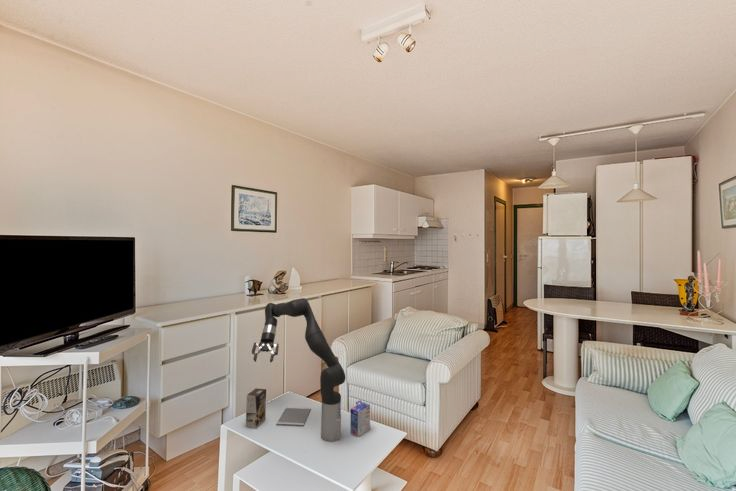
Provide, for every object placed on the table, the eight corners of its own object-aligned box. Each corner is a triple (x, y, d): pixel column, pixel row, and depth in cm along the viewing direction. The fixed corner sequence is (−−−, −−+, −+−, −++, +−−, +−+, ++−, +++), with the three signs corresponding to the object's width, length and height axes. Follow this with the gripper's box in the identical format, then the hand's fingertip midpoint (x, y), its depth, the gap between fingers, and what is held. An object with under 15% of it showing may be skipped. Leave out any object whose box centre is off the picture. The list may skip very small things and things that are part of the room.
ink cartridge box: (362, 425, 173) (362, 397, 173) (370, 429, 170) (371, 400, 170) (349, 433, 165) (350, 403, 166) (357, 437, 162) (358, 407, 162)
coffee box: (256, 428, 167) (257, 396, 168) (245, 427, 169) (246, 394, 169) (265, 419, 176) (266, 388, 177) (254, 418, 178) (255, 387, 178)
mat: (310, 409, 189) (310, 408, 189) (303, 426, 171) (303, 424, 171) (286, 408, 189) (286, 406, 189) (276, 425, 171) (276, 423, 171)
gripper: (255, 330, 193) (248, 358, 182) (280, 332, 194) (275, 359, 183) (257, 336, 199) (250, 363, 188) (281, 338, 200) (276, 364, 189)
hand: (262, 361), depth 186 cm, fingers open, 8 cm apart
